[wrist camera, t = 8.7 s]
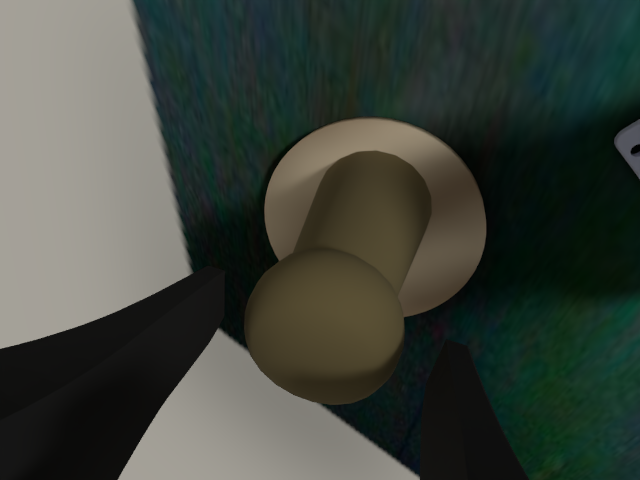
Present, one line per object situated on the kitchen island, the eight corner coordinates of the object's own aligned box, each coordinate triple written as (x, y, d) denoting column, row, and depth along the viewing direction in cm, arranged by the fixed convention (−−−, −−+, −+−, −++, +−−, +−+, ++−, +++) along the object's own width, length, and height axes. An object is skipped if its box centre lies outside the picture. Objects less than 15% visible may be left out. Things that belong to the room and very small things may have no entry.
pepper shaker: (419, 137, 18) (384, 269, 9) (442, 248, 21) (432, 441, 12) (301, 164, 20) (180, 291, 11) (335, 261, 23) (257, 429, 14)
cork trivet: (535, 245, 20) (538, 253, 19) (363, 336, 26) (361, 345, 26) (378, 59, 18) (375, 62, 17) (232, 209, 24) (226, 214, 23)
